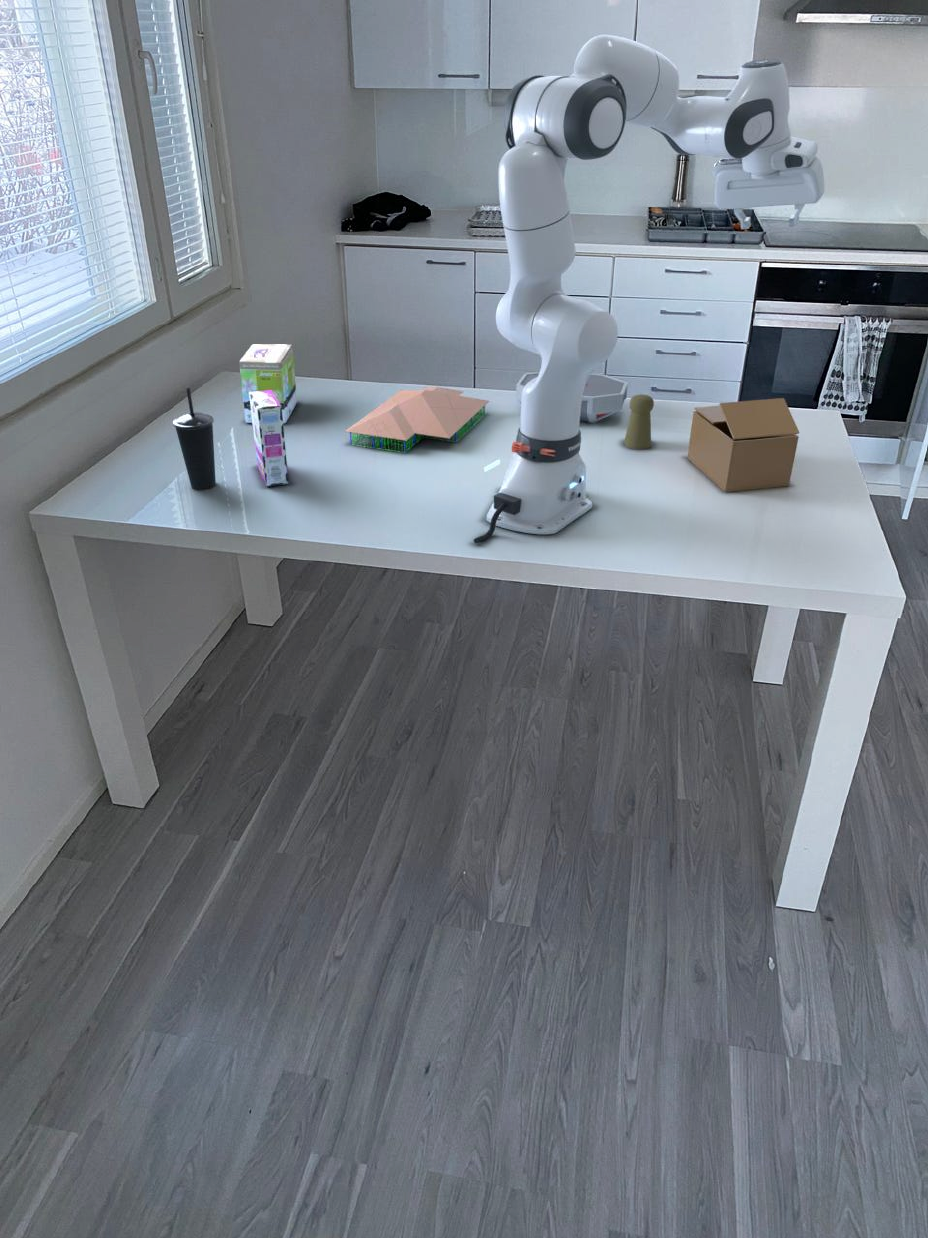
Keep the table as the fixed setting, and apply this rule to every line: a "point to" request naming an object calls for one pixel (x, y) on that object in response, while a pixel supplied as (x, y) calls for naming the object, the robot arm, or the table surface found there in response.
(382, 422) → the house
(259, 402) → the candy bar box
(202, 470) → the drinking cup
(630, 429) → the cork
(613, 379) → the first aid kit
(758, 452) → the carton
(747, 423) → the flap
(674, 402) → the table surface
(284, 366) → the tea box
